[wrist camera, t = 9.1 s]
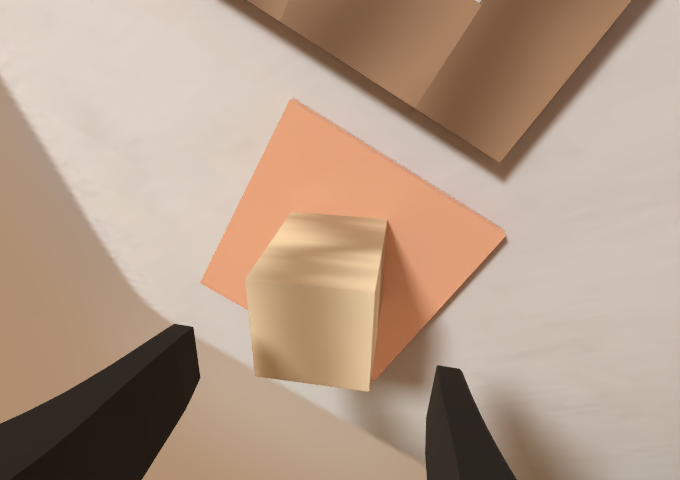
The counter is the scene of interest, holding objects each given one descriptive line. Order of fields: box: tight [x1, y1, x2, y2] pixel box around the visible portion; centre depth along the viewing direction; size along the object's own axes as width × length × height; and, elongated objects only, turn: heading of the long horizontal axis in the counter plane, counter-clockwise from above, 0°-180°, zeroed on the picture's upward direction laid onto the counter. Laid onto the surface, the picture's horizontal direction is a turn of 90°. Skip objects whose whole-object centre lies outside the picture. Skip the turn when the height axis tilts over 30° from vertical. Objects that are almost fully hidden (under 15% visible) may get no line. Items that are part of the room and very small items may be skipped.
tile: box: [200, 98, 506, 381], centre depth 21 cm, size 11×11×1 cm
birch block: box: [245, 212, 387, 392], centre depth 18 cm, size 4×4×6 cm
